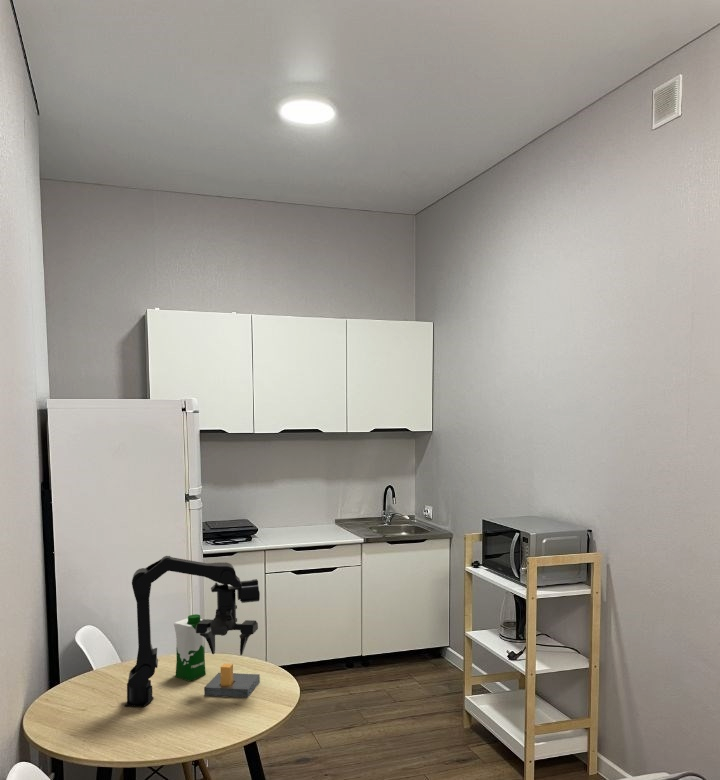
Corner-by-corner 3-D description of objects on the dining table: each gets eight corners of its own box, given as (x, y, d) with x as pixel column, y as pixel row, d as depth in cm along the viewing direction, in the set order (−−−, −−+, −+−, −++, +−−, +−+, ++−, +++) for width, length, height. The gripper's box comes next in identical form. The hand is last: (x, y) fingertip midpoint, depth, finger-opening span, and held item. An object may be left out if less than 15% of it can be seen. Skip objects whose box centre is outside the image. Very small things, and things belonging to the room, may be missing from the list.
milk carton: (189, 682, 218) (188, 620, 218) (171, 677, 223) (170, 616, 224) (209, 674, 225) (208, 613, 226) (191, 668, 230) (191, 609, 231)
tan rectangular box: (220, 693, 209) (220, 667, 209) (224, 689, 212) (223, 663, 212) (230, 693, 209) (229, 667, 209) (233, 689, 212) (232, 663, 212)
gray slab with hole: (204, 695, 207) (204, 687, 207) (218, 680, 219) (218, 672, 219) (247, 697, 205) (247, 689, 205) (259, 682, 217) (259, 674, 217)
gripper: (188, 611, 205) (188, 662, 204) (246, 612, 202) (247, 664, 201) (202, 601, 216) (203, 650, 215) (257, 602, 213) (259, 651, 212)
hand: (227, 654), depth 211 cm, fingers open, 9 cm apart
